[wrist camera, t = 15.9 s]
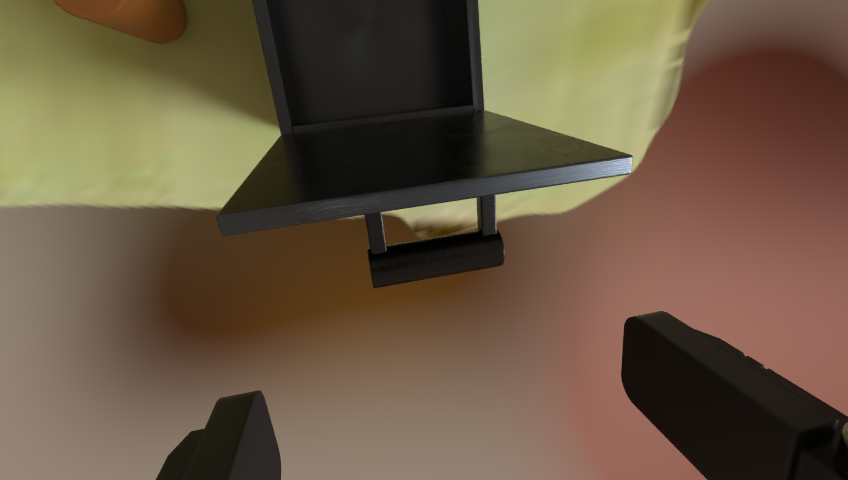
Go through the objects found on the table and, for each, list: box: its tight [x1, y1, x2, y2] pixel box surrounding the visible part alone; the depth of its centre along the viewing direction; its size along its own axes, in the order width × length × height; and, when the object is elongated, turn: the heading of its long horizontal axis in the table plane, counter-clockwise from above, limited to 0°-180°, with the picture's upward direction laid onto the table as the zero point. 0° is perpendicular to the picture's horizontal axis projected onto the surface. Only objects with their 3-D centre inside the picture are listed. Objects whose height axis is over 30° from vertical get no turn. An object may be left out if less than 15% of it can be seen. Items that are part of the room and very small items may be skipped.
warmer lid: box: [216, 110, 633, 288], centre depth 24 cm, size 18×16×5 cm
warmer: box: [252, 0, 484, 135], centre depth 33 cm, size 17×16×8 cm
